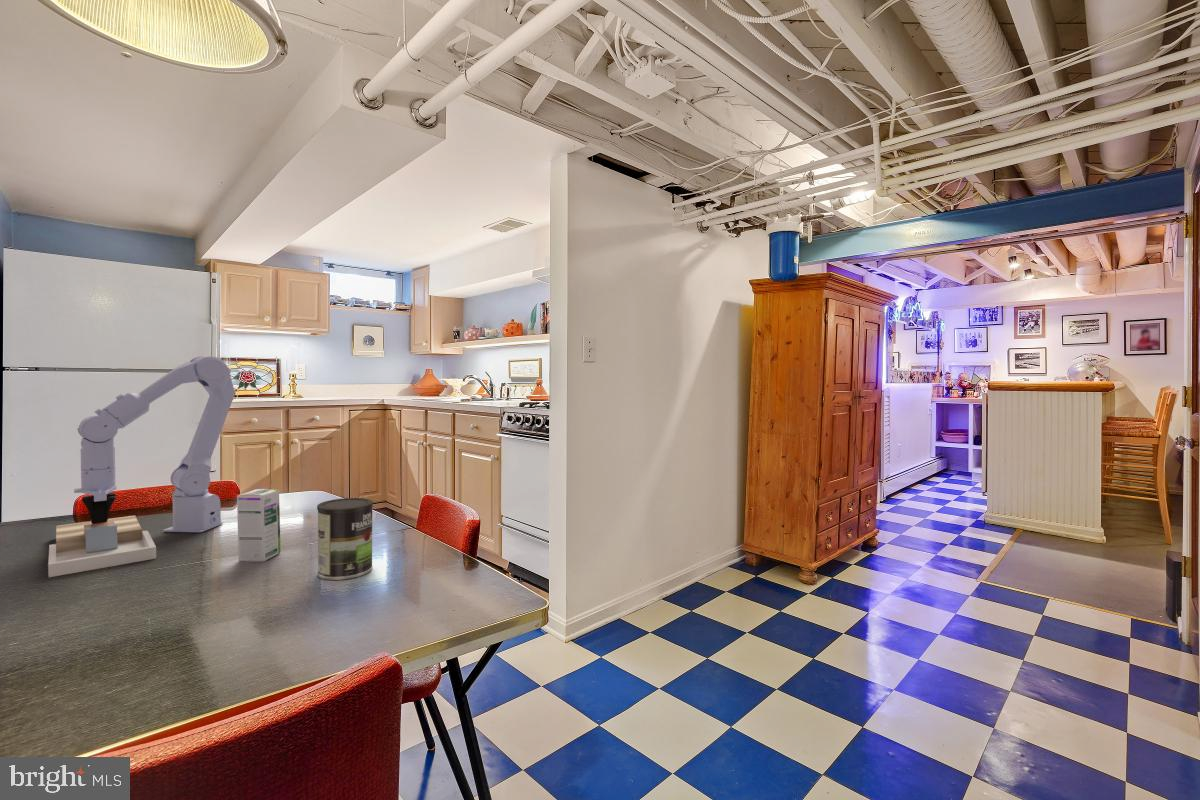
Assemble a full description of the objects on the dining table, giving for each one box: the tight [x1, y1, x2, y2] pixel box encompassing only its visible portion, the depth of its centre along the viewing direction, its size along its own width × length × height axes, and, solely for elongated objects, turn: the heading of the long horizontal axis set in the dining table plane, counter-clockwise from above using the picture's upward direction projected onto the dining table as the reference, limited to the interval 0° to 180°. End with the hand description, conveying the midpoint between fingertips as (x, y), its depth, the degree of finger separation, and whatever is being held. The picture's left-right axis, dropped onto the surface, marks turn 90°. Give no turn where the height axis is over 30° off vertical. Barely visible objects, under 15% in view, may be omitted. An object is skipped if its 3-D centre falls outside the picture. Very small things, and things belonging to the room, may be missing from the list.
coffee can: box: [316, 497, 374, 581], centre depth 109 cm, size 10×10×14 cm
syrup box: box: [236, 488, 282, 563], centre depth 115 cm, size 6×6×14 cm
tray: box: [47, 530, 157, 578], centre depth 113 cm, size 16×16×2 cm
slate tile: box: [85, 524, 118, 553], centre depth 117 cm, size 5×5×2 cm
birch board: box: [55, 515, 143, 553], centre depth 125 cm, size 16×14×3 cm
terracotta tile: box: [84, 521, 115, 539], centre depth 120 cm, size 5×5×2 cm
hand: (99, 526), depth 122 cm, fingers closed
